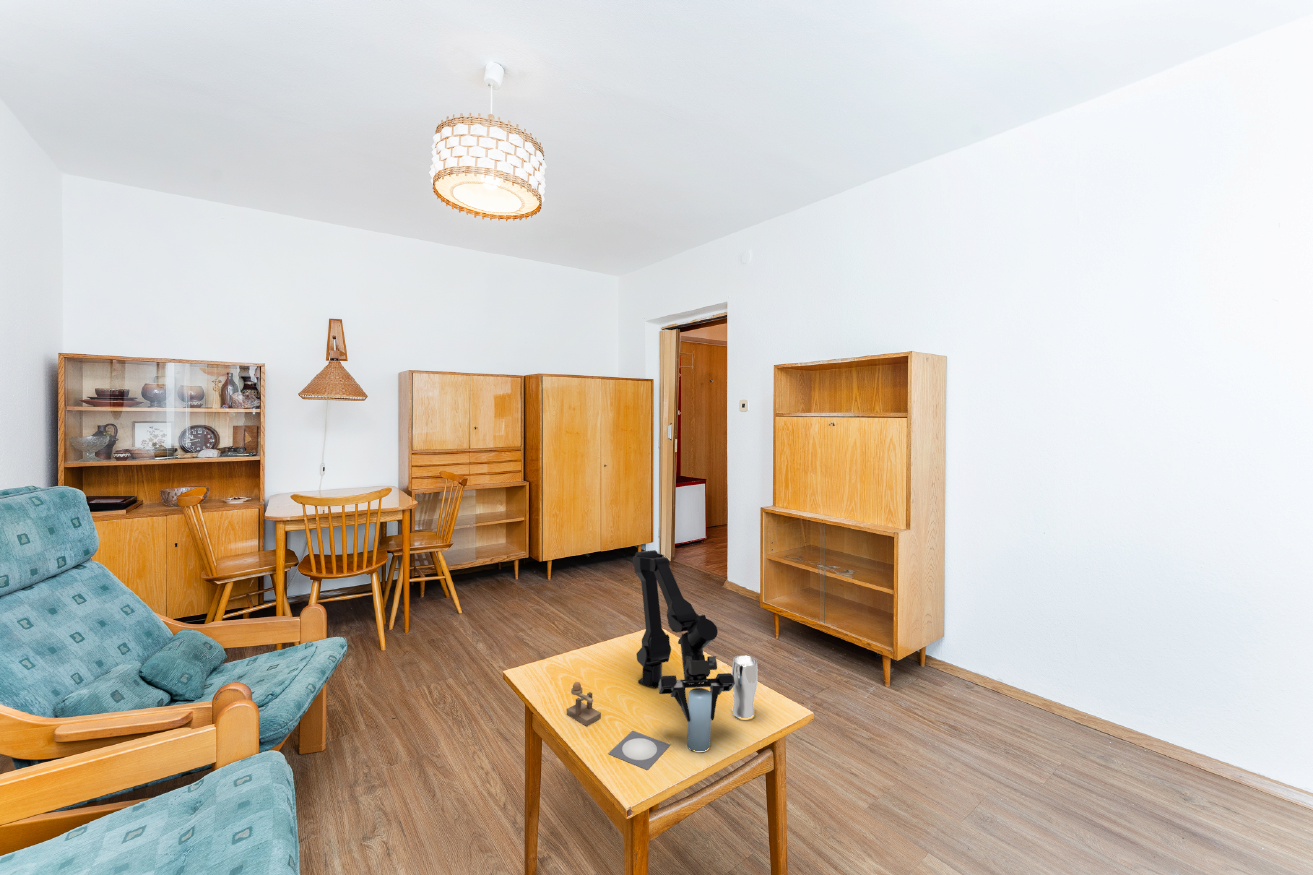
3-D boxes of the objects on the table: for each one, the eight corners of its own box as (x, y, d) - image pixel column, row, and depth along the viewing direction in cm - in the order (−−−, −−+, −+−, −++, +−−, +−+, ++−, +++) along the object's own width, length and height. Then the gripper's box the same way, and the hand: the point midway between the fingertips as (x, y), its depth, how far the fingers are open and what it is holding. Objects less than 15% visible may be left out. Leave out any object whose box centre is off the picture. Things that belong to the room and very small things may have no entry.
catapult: (565, 713, 144) (566, 683, 143) (579, 706, 147) (580, 677, 147) (586, 726, 138) (587, 695, 138) (600, 718, 142) (601, 688, 141)
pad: (632, 730, 137) (632, 730, 137) (670, 744, 131) (670, 744, 131) (607, 753, 127) (607, 753, 127) (647, 770, 122) (647, 769, 122)
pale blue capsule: (693, 736, 135) (694, 685, 135) (713, 743, 132) (715, 691, 132) (683, 747, 130) (684, 695, 130) (704, 755, 127) (705, 702, 127)
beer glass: (728, 707, 149) (729, 654, 148) (752, 707, 149) (754, 654, 149) (733, 722, 142) (735, 666, 141) (759, 721, 142) (761, 666, 142)
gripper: (661, 644, 133) (667, 712, 122) (734, 642, 135) (745, 708, 125) (656, 661, 141) (661, 726, 131) (724, 658, 144) (735, 722, 133)
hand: (700, 720), depth 130 cm, fingers closed on pale blue capsule, 6 cm apart
